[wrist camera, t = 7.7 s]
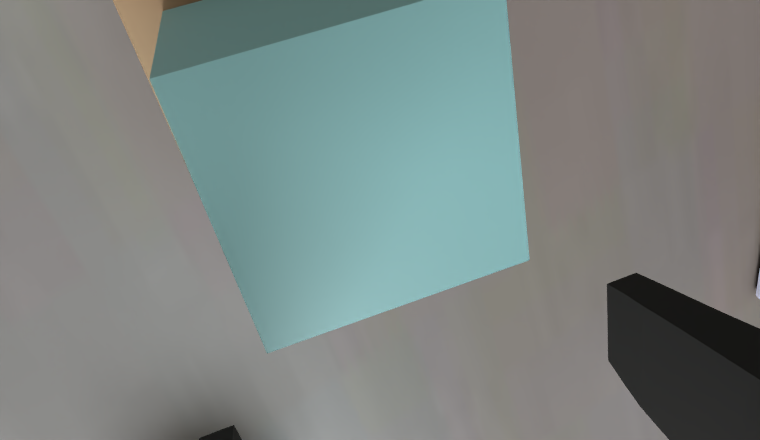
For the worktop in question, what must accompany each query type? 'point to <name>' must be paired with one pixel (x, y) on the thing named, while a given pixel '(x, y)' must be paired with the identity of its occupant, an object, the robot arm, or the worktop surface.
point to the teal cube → (347, 149)
